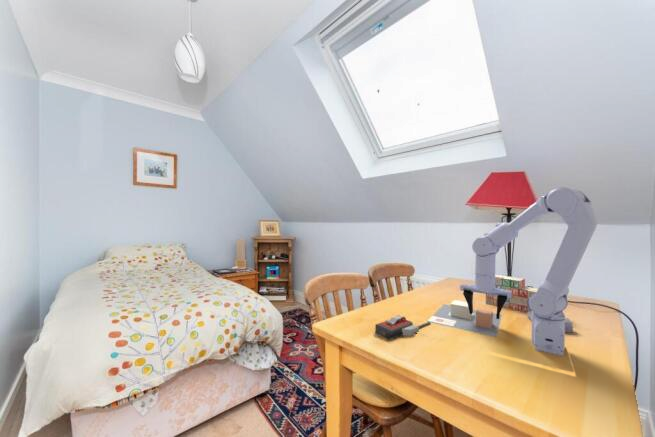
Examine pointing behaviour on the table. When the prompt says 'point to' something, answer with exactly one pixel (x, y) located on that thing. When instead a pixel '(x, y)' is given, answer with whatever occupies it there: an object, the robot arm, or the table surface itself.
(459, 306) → the cream base block
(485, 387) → the table surface
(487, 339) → the table surface
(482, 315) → the orange cube
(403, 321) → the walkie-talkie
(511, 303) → the stack of blocks
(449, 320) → the board
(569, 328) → the stone block
